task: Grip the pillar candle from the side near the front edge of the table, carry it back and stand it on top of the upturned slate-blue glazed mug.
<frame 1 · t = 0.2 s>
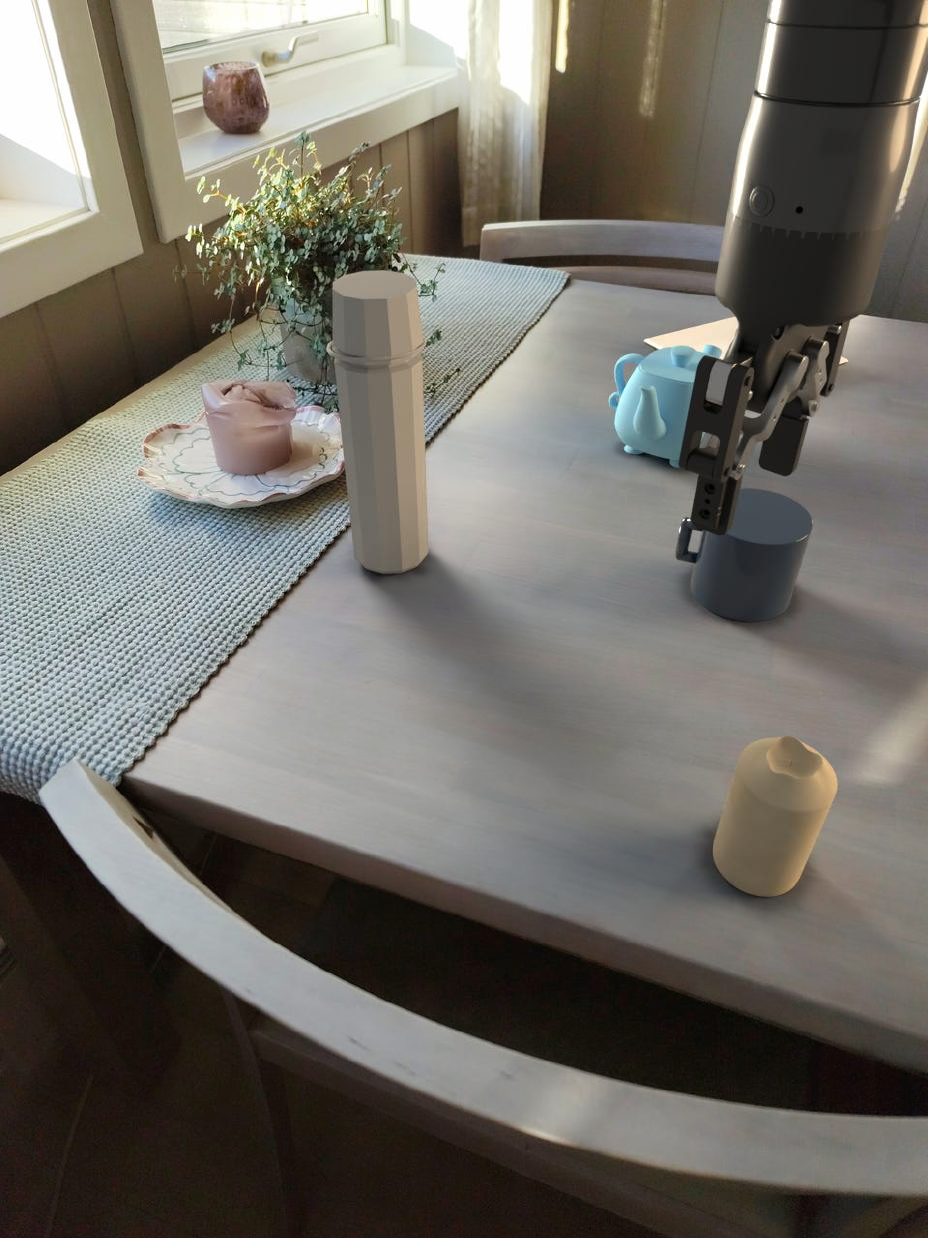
hand: (744, 497, 51), 20 cm above the table, tool pointing down, fingers open, 8 cm apart
water bottle: (388, 551, 82), on the table
plate: (740, 365, 115), on the table
candle: (755, 862, 55), on the table
mug: (739, 591, 77), on the table
teapot: (672, 449, 97), on the table
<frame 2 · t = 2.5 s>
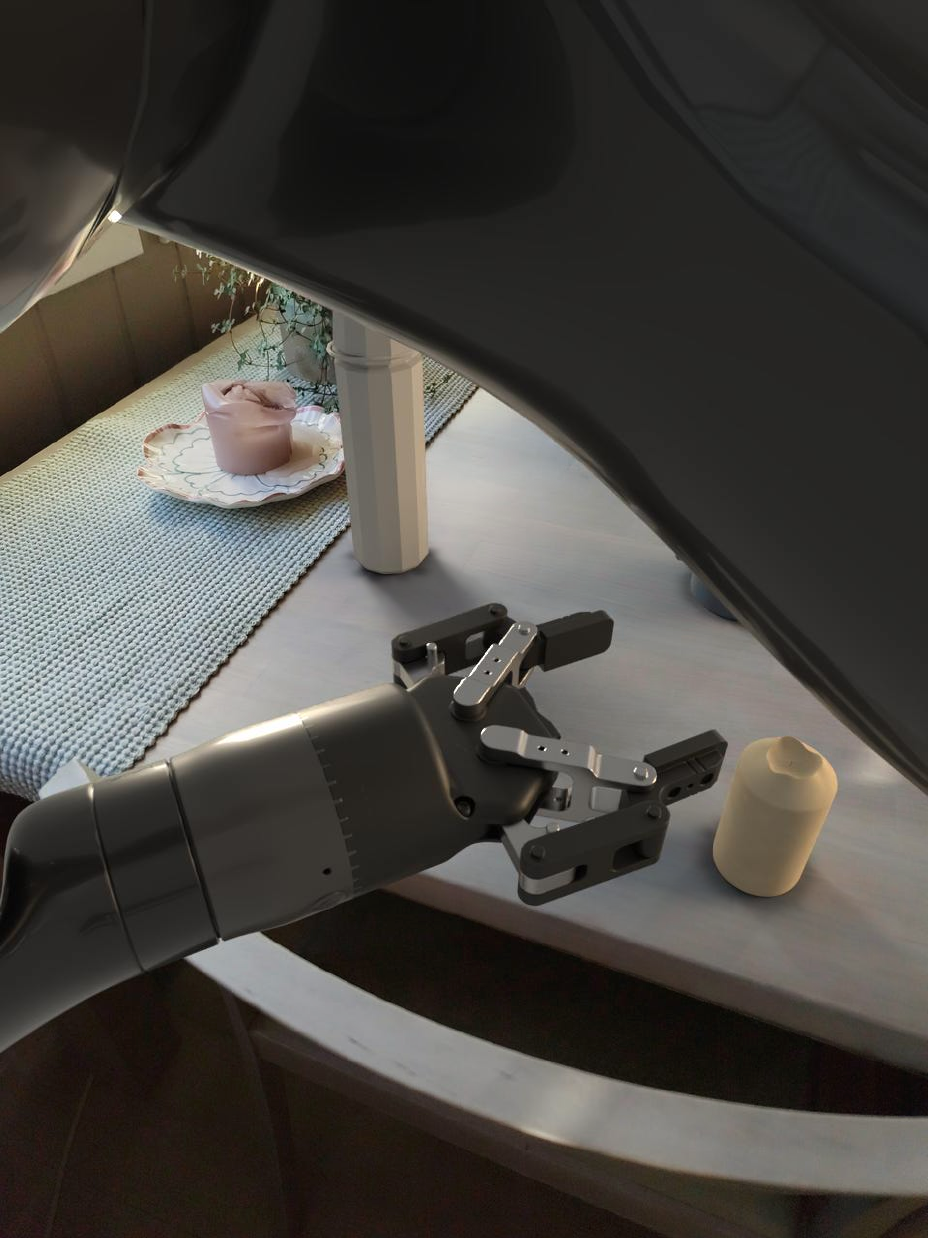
hand: (659, 685, 39), 20 cm above the table, tool horizontal, fingers open, 8 cm apart
nothing on the table moved.
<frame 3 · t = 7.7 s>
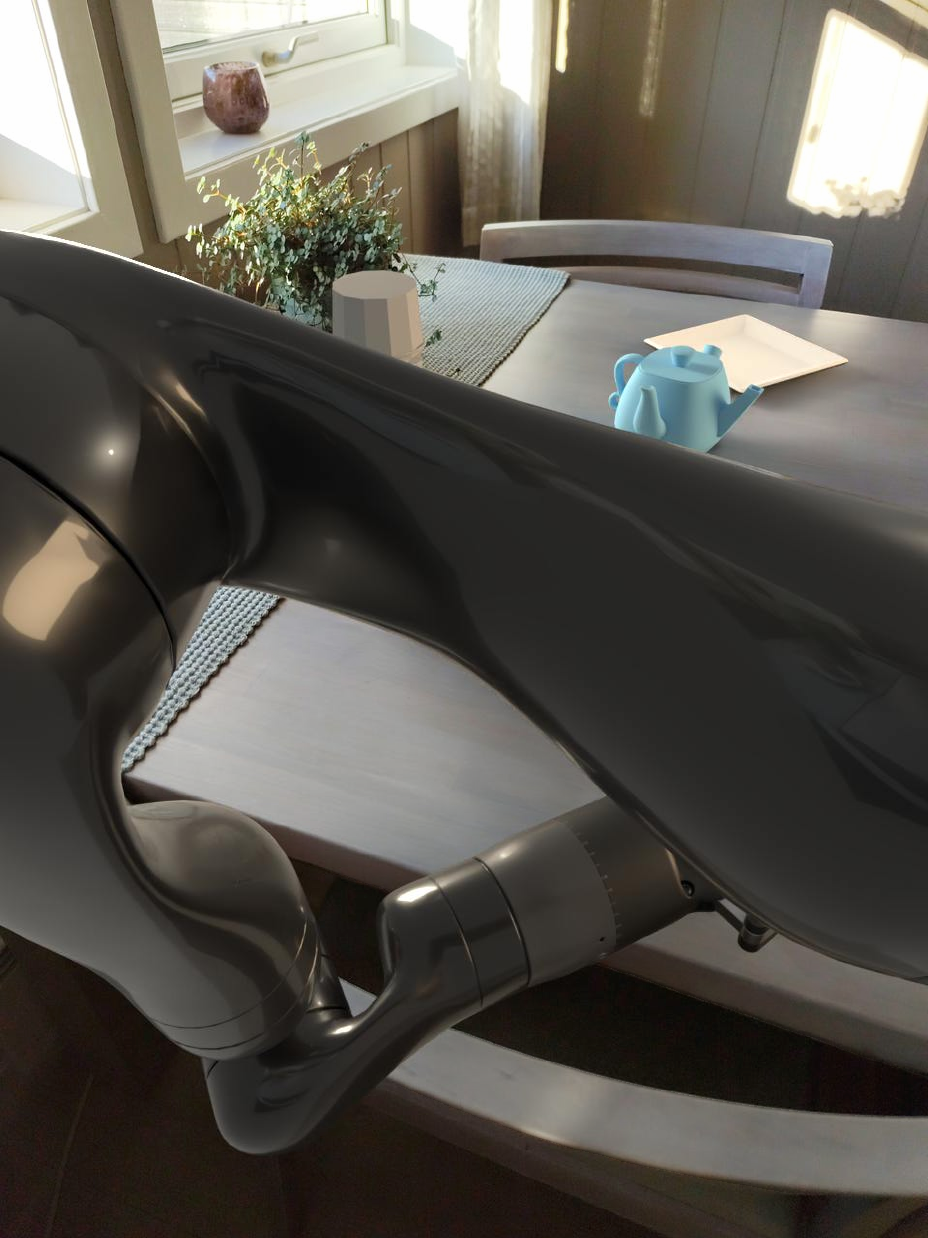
hand: (811, 780, 52), 7 cm above the table, tool horizontal, fingers closed on candle, 5 cm apart
candle: (754, 862, 55), on the table, touching gripper
everything else where it was.
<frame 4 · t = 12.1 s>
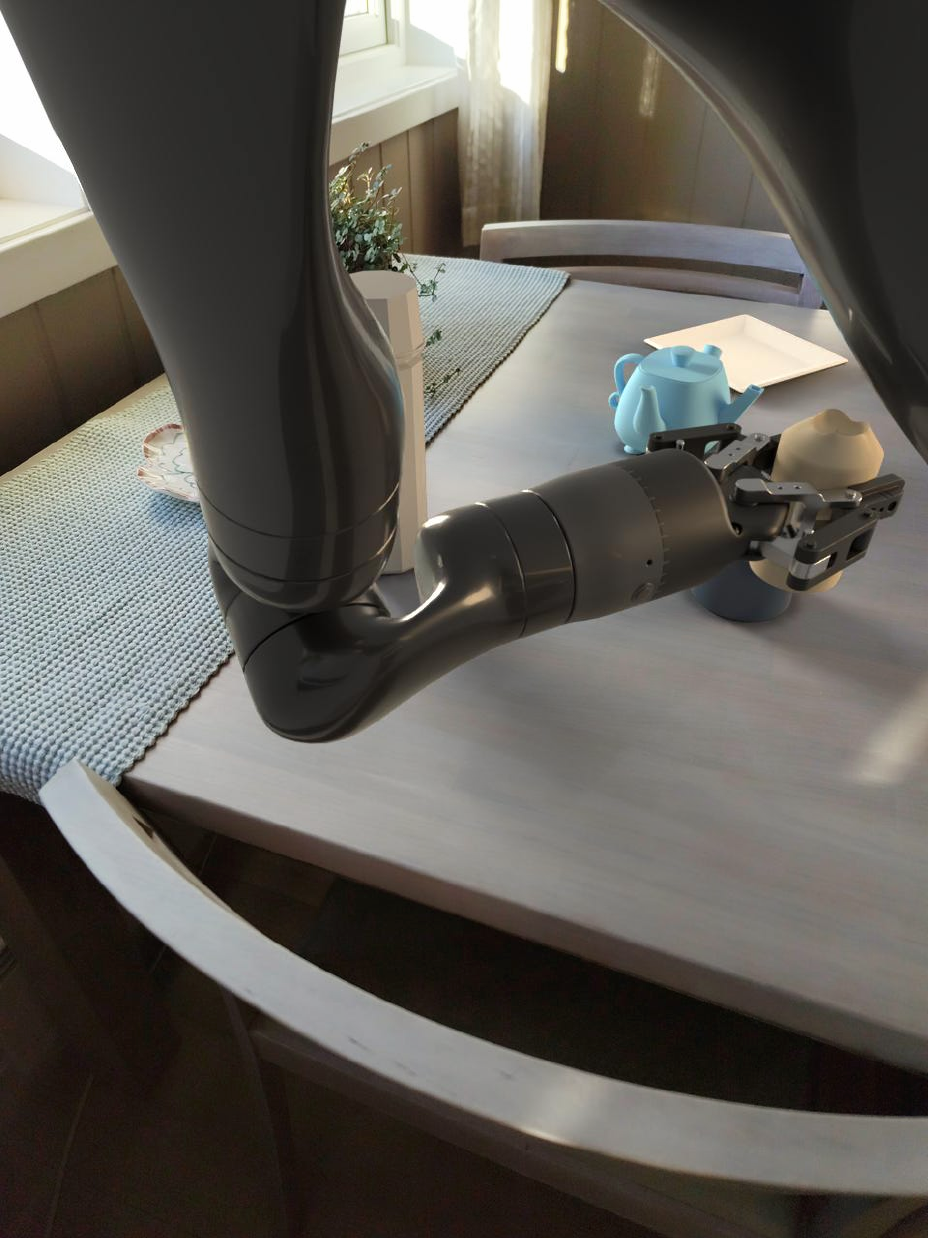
hand: (853, 466, 51), 22 cm above the table, tool horizontal, fingers closed on candle, 5 cm apart
candle: (792, 570, 54), point 15 cm above the table, touching gripper
everything else where it was.
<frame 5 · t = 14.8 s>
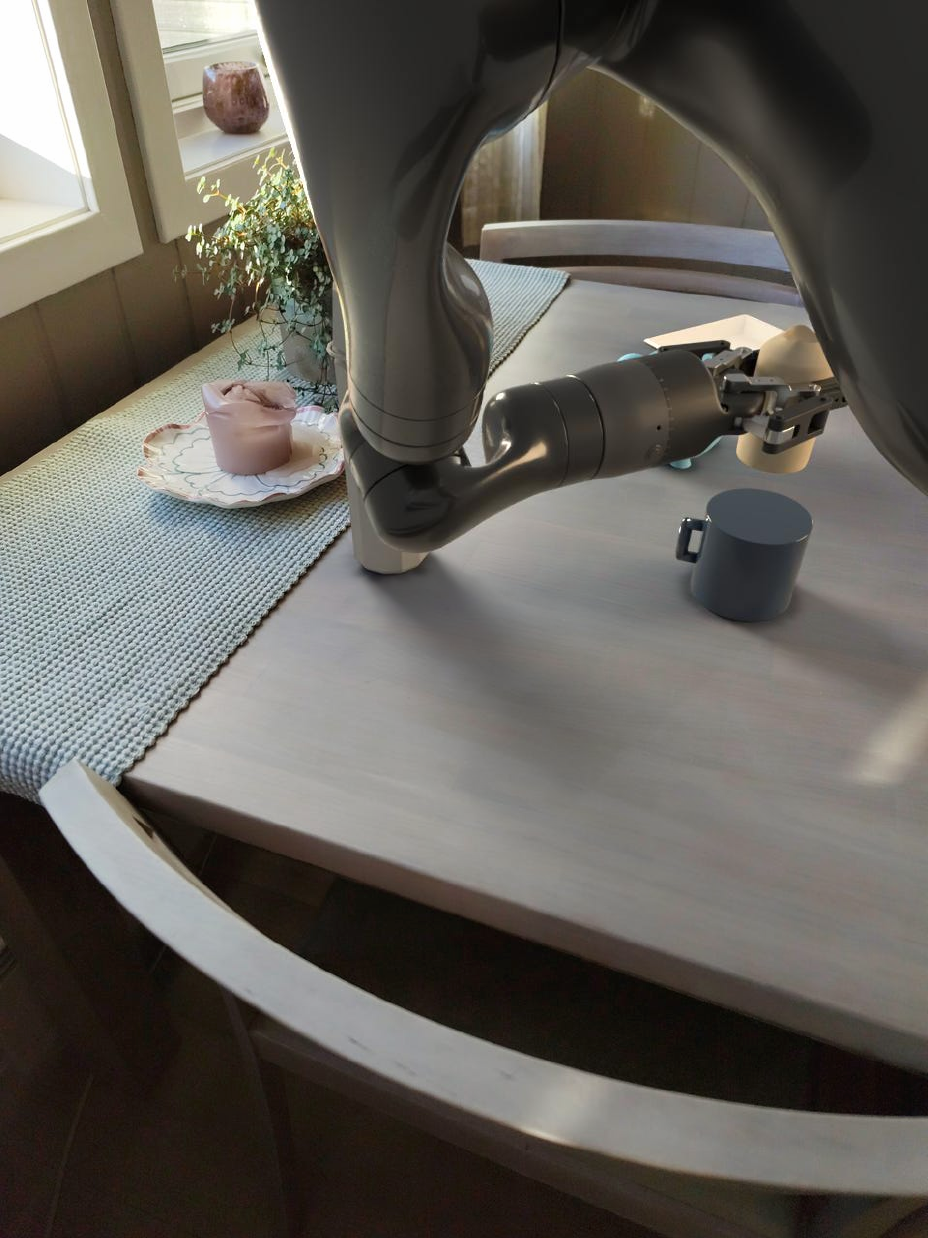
hand: (817, 372, 65), 20 cm above the table, tool horizontal, fingers closed on candle, 5 cm apart
candle: (770, 459, 68), point 13 cm above the table, touching gripper
everything else where it was.
when the fingers open (15 cm above the table, at t = 16.8 s): candle stays where it is, resting on mug.
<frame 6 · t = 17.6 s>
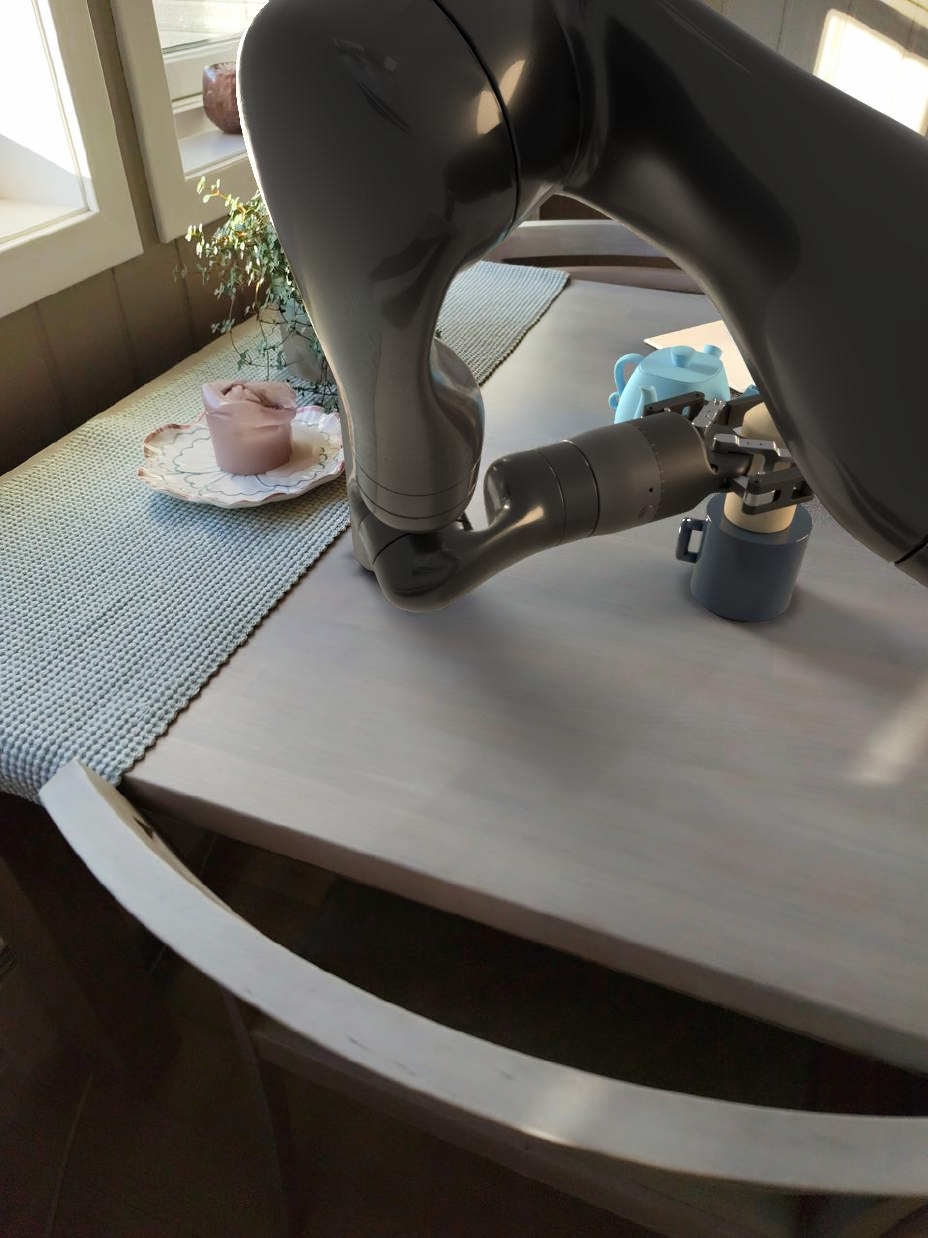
hand: (799, 428, 68), 15 cm above the table, tool horizontal, fingers open, 8 cm apart
candle: (756, 517, 72), point 8 cm above the table, touching mug
mug: (739, 591, 77), on the table, touching candle
everything else where it was.
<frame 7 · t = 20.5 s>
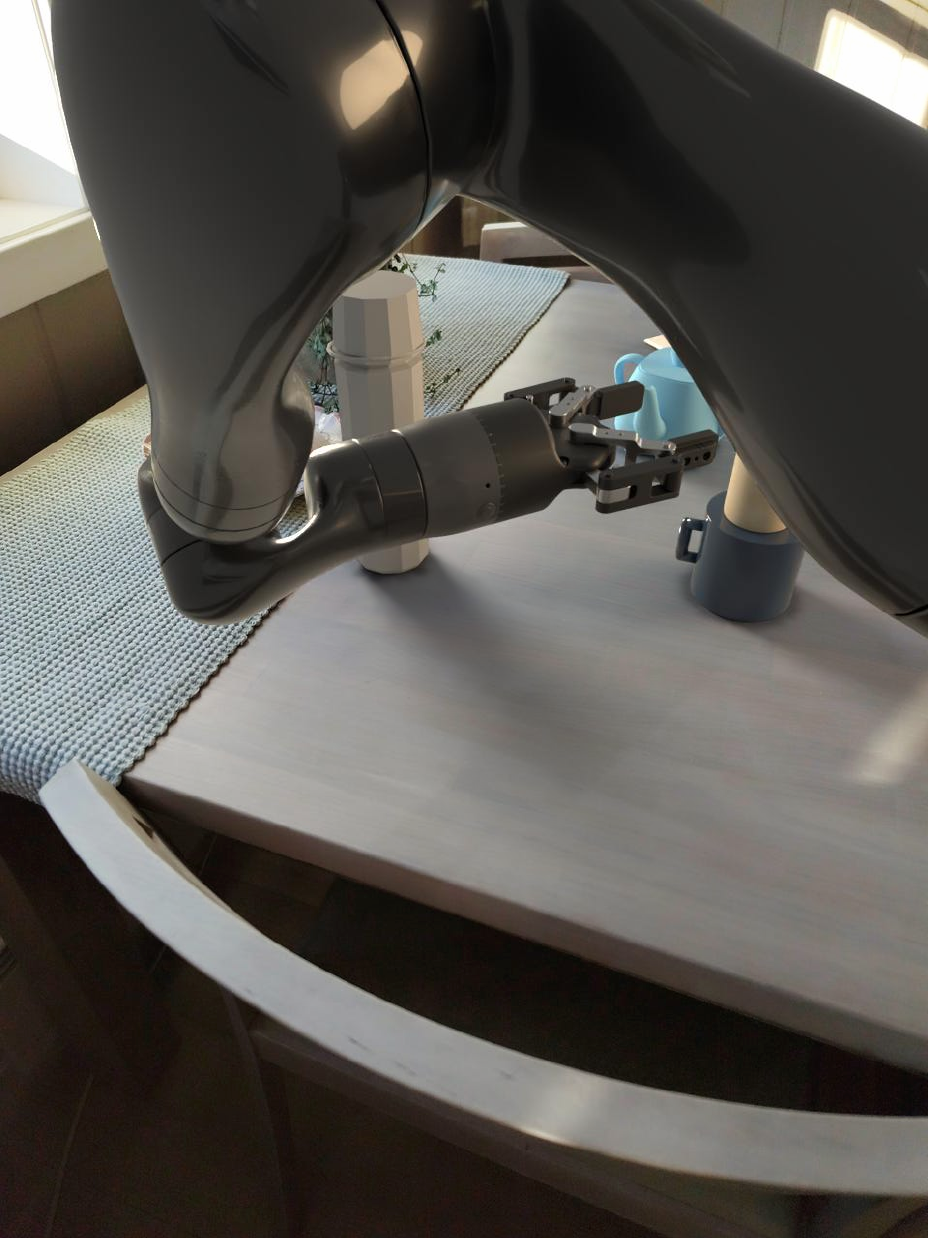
hand: (675, 418, 61), 19 cm above the table, tool horizontal, fingers open, 8 cm apart
nothing on the table moved.
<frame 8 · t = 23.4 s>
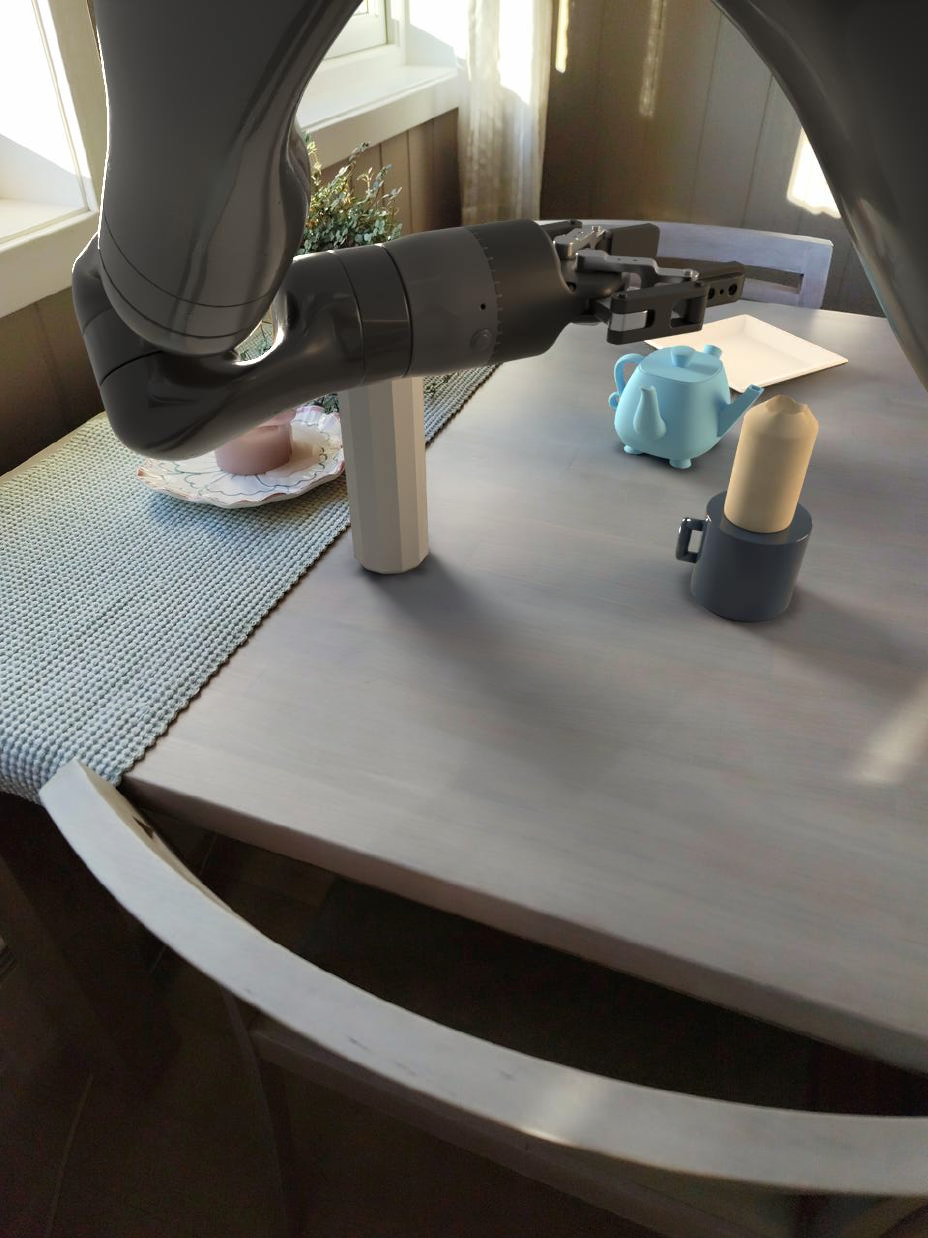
hand: (695, 259, 54), 30 cm above the table, tool horizontal, fingers open, 8 cm apart
nothing on the table moved.
at the end: candle 0.2 cm off-centre on the mug, point 7.8 cm above the mug's base; candle tilted 0°; mug tilted 0° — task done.
